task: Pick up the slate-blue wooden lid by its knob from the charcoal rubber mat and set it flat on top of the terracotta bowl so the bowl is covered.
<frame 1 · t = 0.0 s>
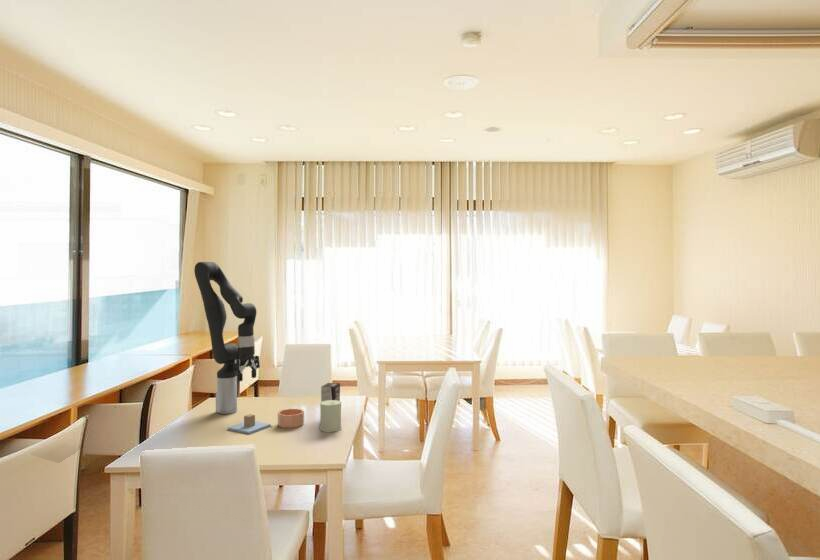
hand: (247, 379, 245), 17 cm above the table, tool pointing down, fingers open, 8 cm apart
lid: (249, 427, 224), resting on mat
coffee box: (330, 419, 239), on the table
can: (330, 429, 225), on the table
bowl: (291, 425, 229), on the table
mat: (249, 428, 224), on the table
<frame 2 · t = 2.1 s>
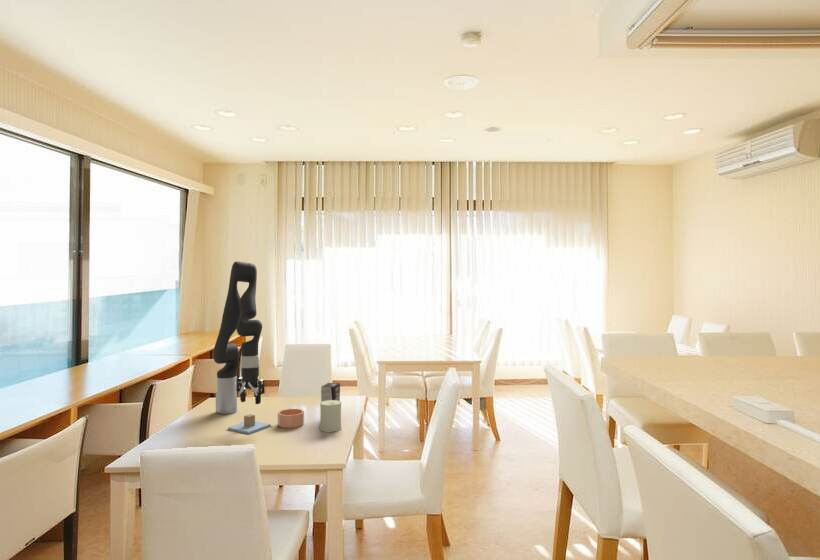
hand: (250, 402, 224), 11 cm above the table, tool pointing down, fingers open, 8 cm apart
nothing on the table moved.
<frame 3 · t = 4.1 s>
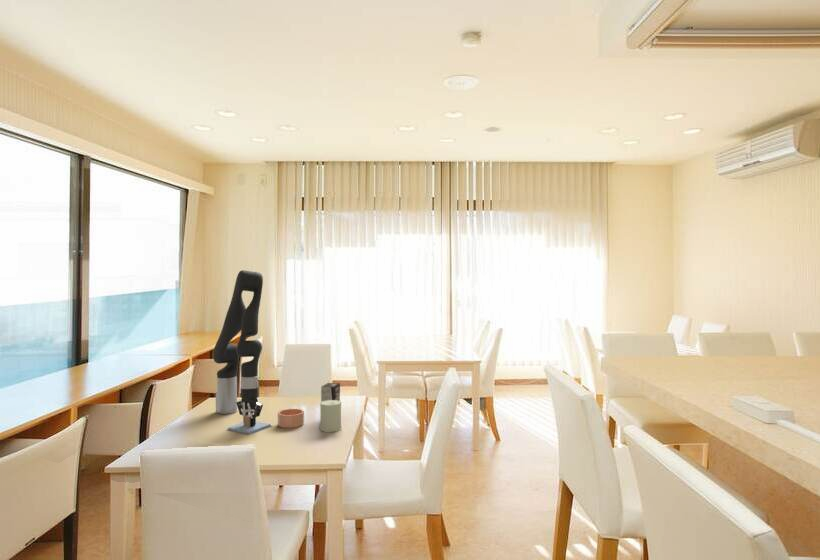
hand: (249, 425, 224), 1 cm above the table, tool pointing down, fingers closed on lid, 3 cm apart
lid: (249, 427, 224), resting on mat, touching gripper
everything else where it was.
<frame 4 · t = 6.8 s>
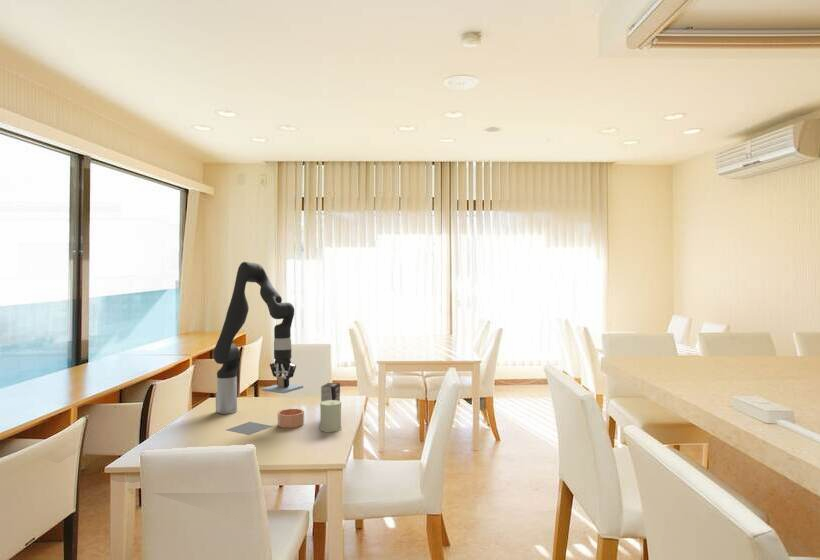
hand: (283, 386, 227), 18 cm above the table, tool pointing down, fingers closed on lid, 3 cm apart
lid: (283, 389, 227), point 17 cm above the table, touching gripper
everything else where it was.
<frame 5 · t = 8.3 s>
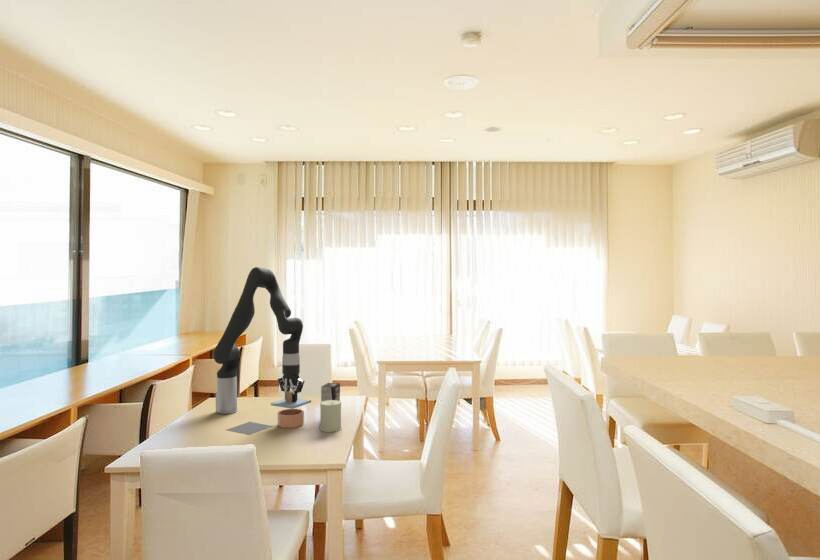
hand: (291, 401, 229), 11 cm above the table, tool pointing down, fingers closed on lid, 3 cm apart
lid: (291, 403, 229), point 10 cm above the table, touching gripper
everything else where it was.
when the fingers open (8 cm above the table, at t = 9.5 s): lid drops 1 cm, resting on bowl.
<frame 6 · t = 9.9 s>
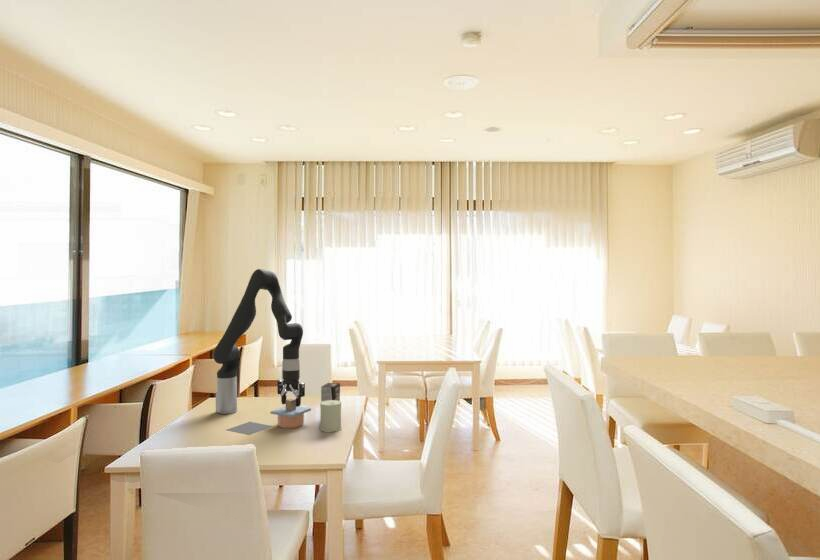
hand: (291, 405, 229), 9 cm above the table, tool pointing down, fingers open, 7 cm apart
lid: (290, 412, 229), point 6 cm above the table, touching bowl
everything else where it was.
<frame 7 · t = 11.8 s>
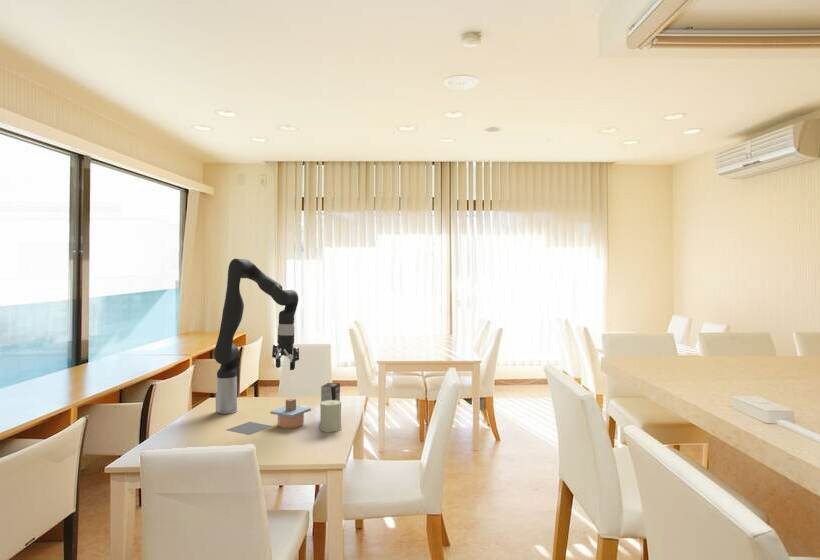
hand: (285, 368, 236), 24 cm above the table, tool pointing down, fingers open, 8 cm apart
nothing on the table moved.
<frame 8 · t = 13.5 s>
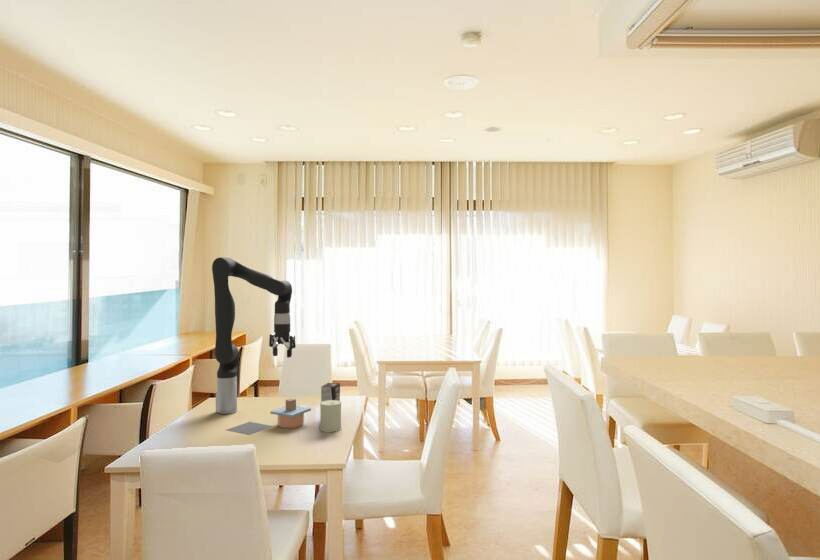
hand: (282, 356, 245), 28 cm above the table, tool pointing down, fingers open, 8 cm apart
nothing on the table moved.
at the end: lid 0.1 cm off-centre on the bowl, point 6.0 cm above the bowl's base; lid tilted 0°; the gripper is holding nothing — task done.
